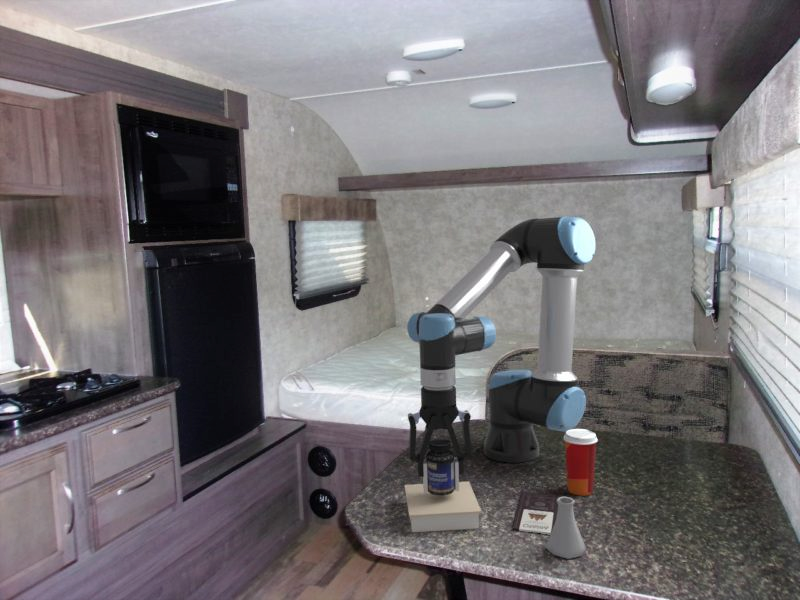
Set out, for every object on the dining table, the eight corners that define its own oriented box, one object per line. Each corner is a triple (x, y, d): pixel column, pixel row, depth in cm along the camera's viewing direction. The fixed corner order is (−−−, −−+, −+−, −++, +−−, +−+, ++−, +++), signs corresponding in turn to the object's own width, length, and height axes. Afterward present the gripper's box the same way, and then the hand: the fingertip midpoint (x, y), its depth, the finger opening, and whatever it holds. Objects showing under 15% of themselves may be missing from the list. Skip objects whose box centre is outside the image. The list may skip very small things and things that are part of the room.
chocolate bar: (561, 495, 137) (557, 533, 120) (561, 499, 137) (557, 537, 120) (522, 491, 140) (512, 528, 122) (522, 495, 140) (512, 532, 123)
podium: (469, 497, 138) (468, 481, 138) (481, 529, 123) (481, 511, 123) (405, 501, 137) (404, 484, 137) (409, 533, 122) (409, 515, 122)
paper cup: (584, 481, 145) (584, 426, 143) (604, 494, 138) (604, 436, 136) (556, 487, 143) (556, 430, 141) (575, 500, 135) (575, 440, 134)
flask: (562, 536, 120) (562, 488, 119) (593, 550, 114) (593, 500, 113) (538, 548, 115) (538, 499, 114) (569, 564, 110) (569, 512, 109)
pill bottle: (424, 495, 128) (422, 446, 126) (430, 483, 134) (428, 436, 132) (452, 497, 126) (451, 447, 125) (457, 485, 132) (455, 437, 131)
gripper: (394, 392, 123) (398, 499, 125) (485, 388, 124) (487, 494, 127) (393, 383, 130) (396, 484, 133) (479, 379, 131) (480, 479, 134)
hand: (440, 489), depth 130 cm, fingers closed on pill bottle, 6 cm apart
